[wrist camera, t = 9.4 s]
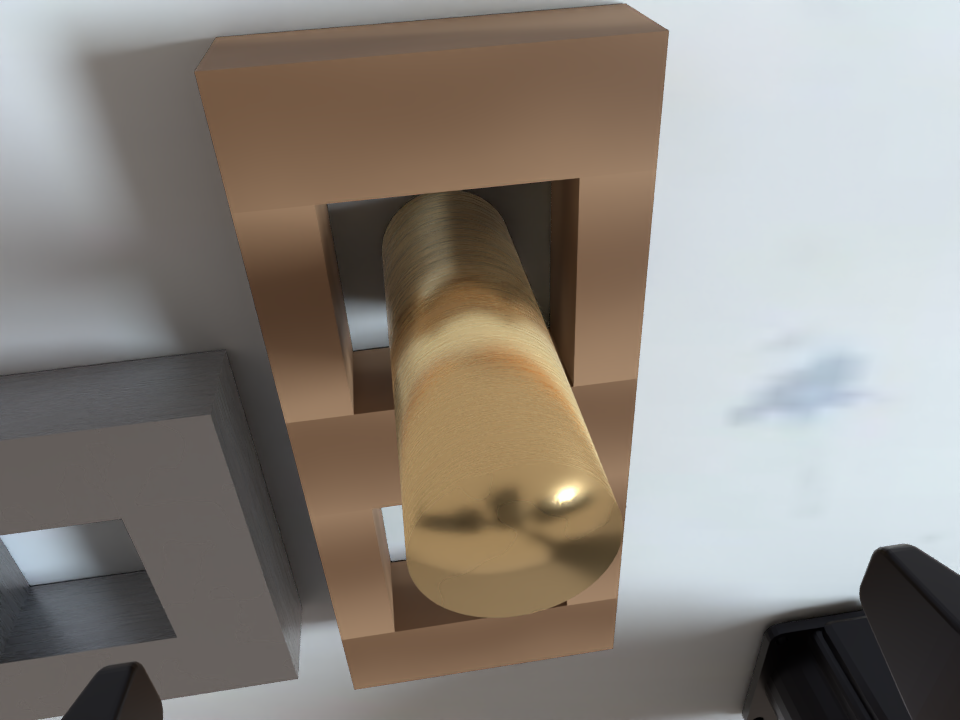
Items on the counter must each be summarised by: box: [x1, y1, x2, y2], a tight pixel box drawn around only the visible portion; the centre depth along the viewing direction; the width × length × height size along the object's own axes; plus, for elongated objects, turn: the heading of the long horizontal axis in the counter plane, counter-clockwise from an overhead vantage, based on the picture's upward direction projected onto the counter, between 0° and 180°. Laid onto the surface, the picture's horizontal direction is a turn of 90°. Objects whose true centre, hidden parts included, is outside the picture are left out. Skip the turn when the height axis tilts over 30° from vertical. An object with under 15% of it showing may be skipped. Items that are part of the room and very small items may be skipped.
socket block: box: [0, 350, 302, 720], centre depth 20 cm, size 10×10×2 cm
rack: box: [194, 4, 669, 690], centre depth 19 cm, size 18×8×2 cm, turn 3°
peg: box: [382, 190, 623, 618], centre depth 14 cm, size 3×3×9 cm
